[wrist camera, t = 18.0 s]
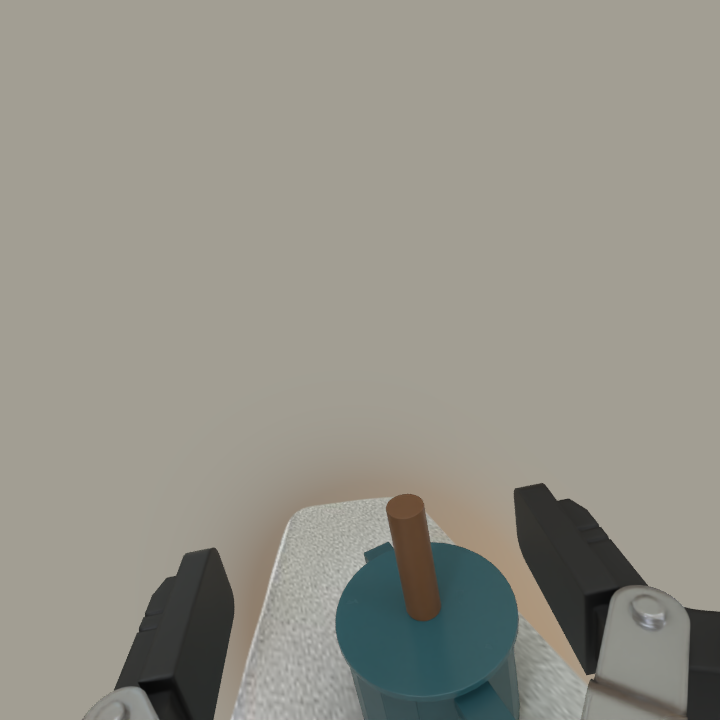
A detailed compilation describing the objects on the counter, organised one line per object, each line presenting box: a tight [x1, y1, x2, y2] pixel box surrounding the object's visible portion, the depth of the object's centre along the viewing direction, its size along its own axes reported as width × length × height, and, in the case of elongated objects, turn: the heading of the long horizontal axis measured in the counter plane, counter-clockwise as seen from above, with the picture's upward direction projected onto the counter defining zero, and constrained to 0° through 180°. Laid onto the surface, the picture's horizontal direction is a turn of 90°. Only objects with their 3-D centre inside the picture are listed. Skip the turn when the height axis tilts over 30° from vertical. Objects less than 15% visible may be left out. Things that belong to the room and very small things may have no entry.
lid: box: [336, 494, 519, 702], centre depth 33 cm, size 12×12×10 cm
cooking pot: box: [350, 542, 520, 720], centre depth 36 cm, size 11×17×10 cm
